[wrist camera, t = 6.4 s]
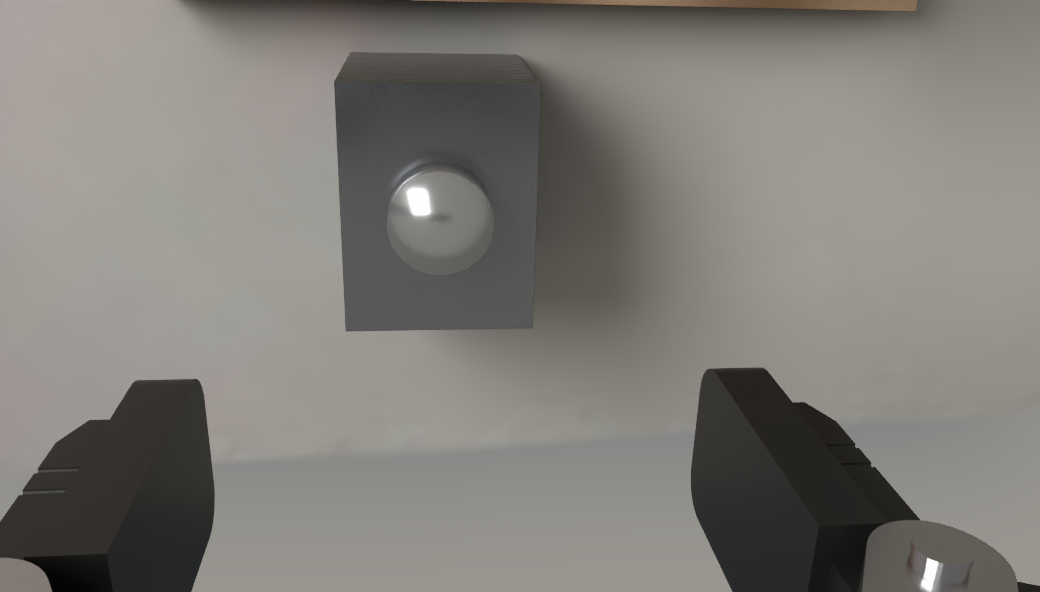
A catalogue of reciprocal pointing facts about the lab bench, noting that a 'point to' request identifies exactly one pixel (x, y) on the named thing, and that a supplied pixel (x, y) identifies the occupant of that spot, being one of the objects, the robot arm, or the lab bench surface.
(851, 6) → the wooden base board
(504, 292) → the grey box with knob
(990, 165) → the lab bench surface
